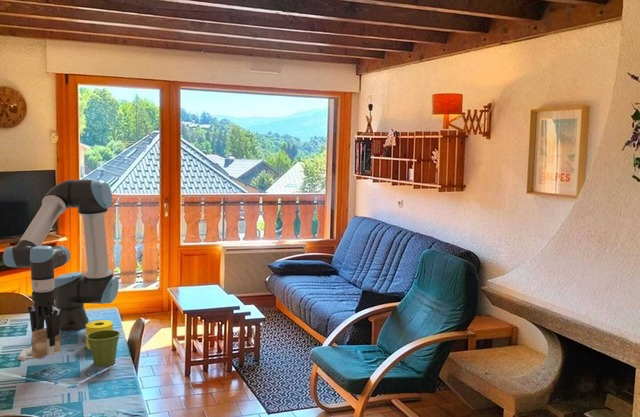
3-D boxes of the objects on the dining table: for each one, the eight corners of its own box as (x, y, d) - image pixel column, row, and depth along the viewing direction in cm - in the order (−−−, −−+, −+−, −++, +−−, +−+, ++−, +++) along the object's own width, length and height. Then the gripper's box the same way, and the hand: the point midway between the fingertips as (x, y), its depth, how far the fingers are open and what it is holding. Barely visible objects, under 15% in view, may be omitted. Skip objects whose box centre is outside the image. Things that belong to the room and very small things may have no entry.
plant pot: (128, 360, 229) (127, 331, 228) (107, 372, 218) (106, 341, 217) (101, 356, 233) (100, 327, 232) (80, 367, 222) (78, 337, 221)
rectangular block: (31, 357, 216) (31, 331, 215) (53, 349, 225) (53, 325, 225) (38, 358, 215) (38, 332, 214) (60, 350, 224) (60, 326, 224)
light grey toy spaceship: (26, 338, 243) (53, 336, 246) (26, 346, 244) (53, 344, 246) (16, 357, 226) (45, 355, 228) (16, 365, 226) (46, 363, 229)
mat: (55, 360, 229) (55, 359, 229) (85, 365, 224) (85, 364, 224) (21, 376, 214) (21, 374, 214) (52, 382, 209) (52, 380, 209)
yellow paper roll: (114, 341, 250) (113, 319, 248) (112, 350, 240) (111, 326, 239) (88, 343, 247) (87, 320, 246) (85, 352, 238) (84, 328, 236)
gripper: (17, 290, 217) (21, 354, 220) (53, 294, 211) (56, 360, 214) (34, 285, 224) (37, 347, 227) (69, 289, 218) (72, 353, 221)
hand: (46, 353), depth 220 cm, fingers closed on rectangular block, 3 cm apart
